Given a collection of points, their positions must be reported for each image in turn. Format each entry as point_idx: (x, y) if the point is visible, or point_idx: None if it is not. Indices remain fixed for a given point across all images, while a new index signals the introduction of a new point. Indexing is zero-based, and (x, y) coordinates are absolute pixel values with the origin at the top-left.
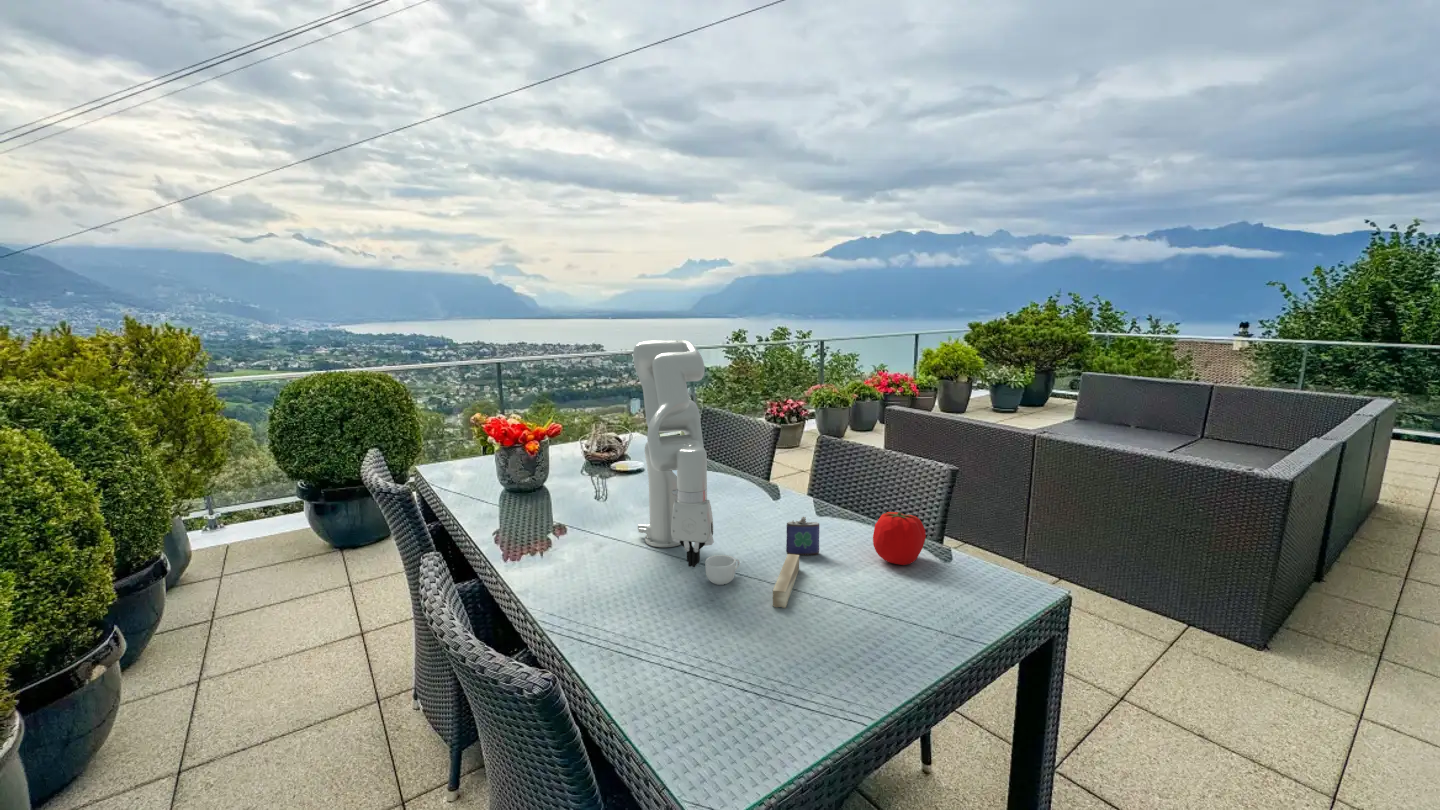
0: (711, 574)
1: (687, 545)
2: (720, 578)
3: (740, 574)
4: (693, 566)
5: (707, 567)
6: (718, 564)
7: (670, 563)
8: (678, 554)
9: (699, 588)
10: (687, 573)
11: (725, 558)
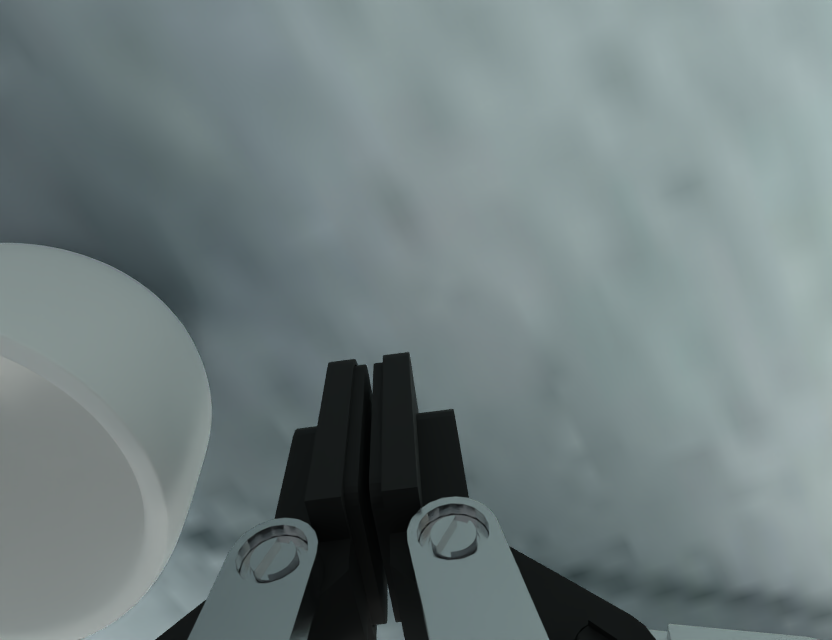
0: (6, 262)
1: (449, 599)
2: None
3: None
4: (341, 362)
5: (49, 322)
6: (127, 519)
7: (698, 486)
8: None
9: (172, 113)
10: (469, 377)
11: (23, 605)
